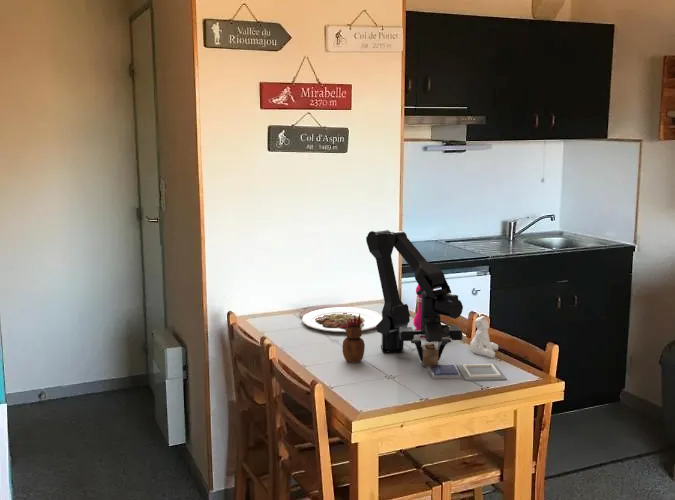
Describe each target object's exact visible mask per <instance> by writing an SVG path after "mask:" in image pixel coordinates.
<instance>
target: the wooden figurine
mask: <svg viewBox="0 0 675 500" xmlns="http://www.w3.org/2000/svg"><path fill="white" fill-rule="evenodd" d="M362 331H363V330H361V328H360V314H359V317H358V321H357V323H356V318H355V316H354V322H353V321H352V319H351V324H350V322H348V327H347V328H346V332H345V336H346V337H345V338H344V339H343V341H342V354H343V358H344V360H345V361H347V362H348V363H352V364H354V363H360V362H361V361H362V360H363V358H364V354H365V346H366V345H365V341H364V339H363V338H361V337H362V334H363V332H362Z"/></svg>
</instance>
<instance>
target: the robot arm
mask: <svg viewBox="0 0 675 500" xmlns="http://www.w3.org/2000/svg"><path fill="white" fill-rule="evenodd" d="M365 237H366V238H365V240H366V245H367V247H368V251H369V253H370V254H371V256H373V257H374V259H375V263H376V266H377V271H378V276H379V281H380V286H381V290H382V296H383V301H384V304H383V307H382V311H381V315H382V320H381V321H380V322H379V323H378V324H377V325H376V327H375V328H376V333H379V334H381V344H380V349H381V352H382V353H388V354H389V353H403V352H404V351H403V349H404V342H410V343H411V344H414V345H415V347H416V350H417V353H418V357H419V360H420V362H421V361H422V348H421V345H422V341H421V338H424V337H426V338H425V341H426V343H437V348H438V349H439V353H438V362H439V361H440V359H441V356H442V354H443V352H444V349H445V347H446V346H447V345H448V343H449V344H451V343H452V341H463V336H464V335H463V331H462V329H461V328H460V327H459V326H457V325H455V326H453V325H449V324H442V322H441V316H443V317H448V318H450V319H454V320H456V319H458V318H459V317H460V316H461V315H462V314H463V309H464V306H463V303H462V301H461V300H460V299H459V295H457V294H452V290H451V287H450V285H449V284H448V281H447V279H446V276H445V273H444V272H443V271H442V270H441V269H440V268H439V267H438V266H436V265H435V264H433V263H430V262H428V260H426V259H425V257H424V256H423V255H422V254H421V252H420V250H418V249H417V248H416V246H415V245H414V244H413V243H412V241H411V240H410V239H409V238H408V235H407V233H406V232H404V231H401V230H400V231H391V230H389V229H379V230H371V231H369V232H368V233H367V236H365ZM394 249H395V250H396V251H397V252H398V254H399V255H400V256H401V257H402V259H404V260H405V262H406V263H407V265H408V266H409V267H410V268H411V269H412V271H413V273H414V279H415V281H416V283H417V286H418V285H419V286H420V288H421V289H420V290H419V291H418V292H416V291H415V293H416V295H417V294H418V295H421V296H422V300H421V330H415V329H413V327H412V326H408V325H409V323H410V321H411V320H410V317H411V314H410V311H409V306H408V303H405V304H404V302H402V300H401V298H400V294H399V288H398V283H397V279H396V274H395V269H394V263H393V259H392V258H393V257H392V254H393V251H394ZM433 289H434V291H433Z"/></svg>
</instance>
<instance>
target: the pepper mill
mask: <svg viewBox="0 0 675 500" xmlns="http://www.w3.org/2000/svg"><path fill="white" fill-rule="evenodd" d="M420 289H421V288H420V286H419V285H418V284H417V285H416V289H415V293H416V292H418V291H419V290H420ZM434 290H435V289H433V291H434ZM416 295H418V294H416ZM416 300H417V302H418V308H417V311H416V314H415V316H414V318H413V325H414V327H415V329H414V330H421V300H422V296H421V295H418V296H417V299H416Z"/></svg>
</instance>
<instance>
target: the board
mask: <svg viewBox="0 0 675 500" xmlns="http://www.w3.org/2000/svg"><path fill="white" fill-rule="evenodd" d="M456 368H457V370H458V371H459V373H460V375H461V377H463V379H464V381H466V382H467V381H469V382H471V381H474V382H477V381H478V382H479V381H480V382H481V381H507V380H508V378H507V376H505V374H504V373H503V372H502V370H501V369H500V367H499V366H498V365H497V364H496V363H474V364H471V363H470V364H469V363H467V364H466V363H465V364H456Z"/></svg>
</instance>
